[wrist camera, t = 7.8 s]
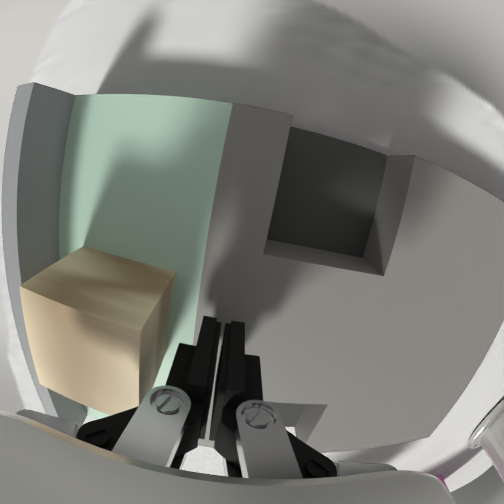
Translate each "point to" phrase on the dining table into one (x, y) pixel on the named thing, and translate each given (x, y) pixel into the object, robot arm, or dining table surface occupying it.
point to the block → (98, 327)
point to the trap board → (267, 251)
